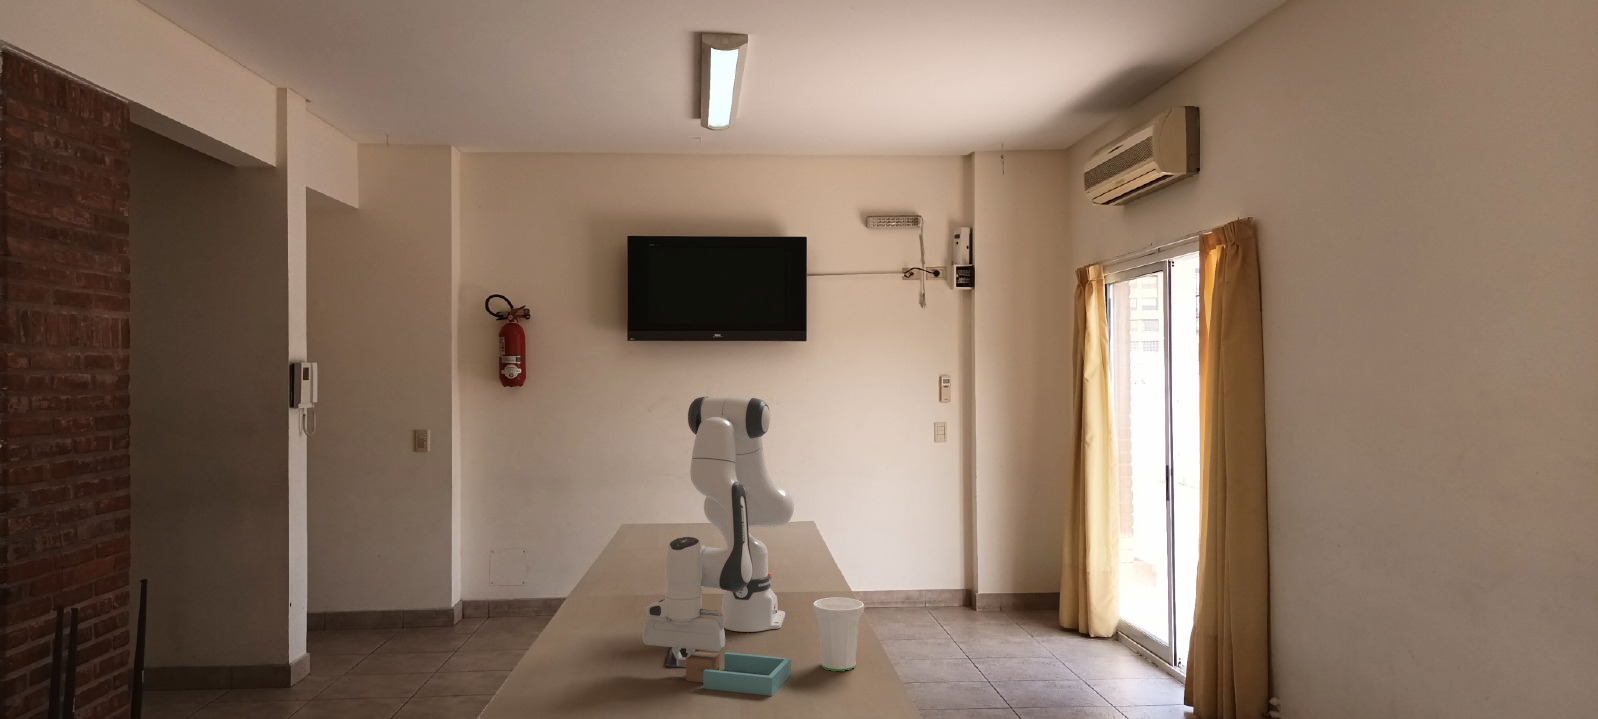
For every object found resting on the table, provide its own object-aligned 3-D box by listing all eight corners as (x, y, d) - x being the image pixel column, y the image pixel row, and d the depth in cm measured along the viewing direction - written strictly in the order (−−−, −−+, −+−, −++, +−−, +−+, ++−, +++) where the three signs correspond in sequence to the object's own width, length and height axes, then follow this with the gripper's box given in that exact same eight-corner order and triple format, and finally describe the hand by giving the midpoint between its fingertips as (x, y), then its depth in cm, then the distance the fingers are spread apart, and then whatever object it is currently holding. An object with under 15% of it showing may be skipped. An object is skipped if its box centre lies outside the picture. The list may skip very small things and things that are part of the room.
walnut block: (696, 672, 220) (696, 651, 220) (719, 674, 218) (719, 653, 218) (685, 680, 214) (685, 658, 214) (709, 682, 213) (709, 661, 213)
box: (726, 668, 223) (726, 652, 223) (790, 675, 218) (790, 658, 218) (703, 688, 209) (703, 670, 209) (772, 695, 204) (772, 677, 204)
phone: (664, 664, 223) (669, 645, 238) (664, 669, 223) (669, 650, 238) (697, 664, 224) (700, 645, 239) (697, 668, 224) (700, 649, 239)
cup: (802, 665, 225) (802, 603, 225) (837, 654, 234) (837, 594, 234) (839, 678, 216) (839, 612, 216) (874, 666, 225) (874, 603, 225)
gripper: (729, 607, 218) (729, 666, 218) (651, 601, 224) (650, 657, 224) (719, 614, 212) (719, 674, 212) (639, 607, 218) (639, 665, 218)
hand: (683, 665), depth 218 cm, fingers closed
